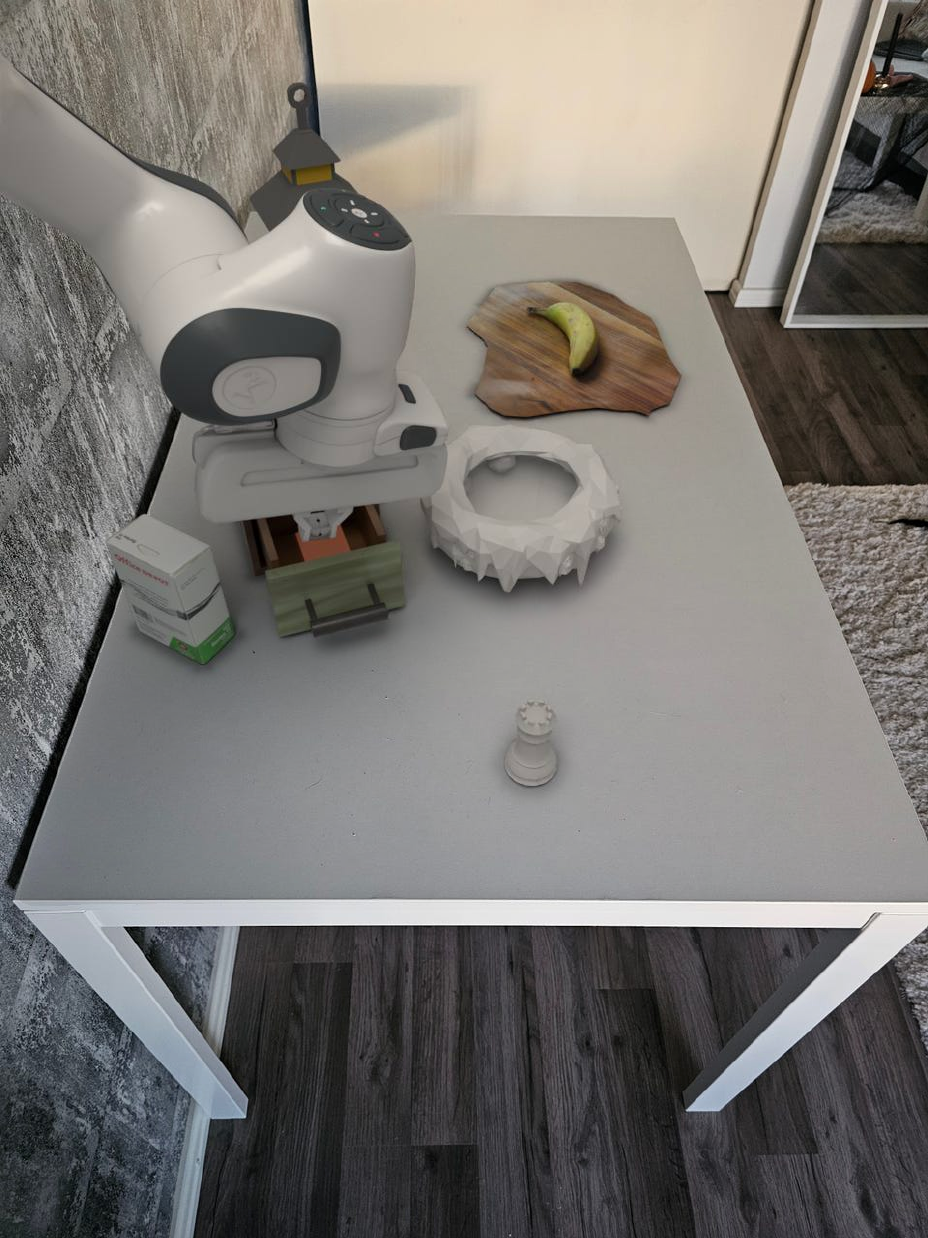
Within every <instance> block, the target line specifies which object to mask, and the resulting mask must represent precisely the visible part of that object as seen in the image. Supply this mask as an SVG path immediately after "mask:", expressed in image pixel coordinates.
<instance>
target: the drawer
mask: <svg viewBox="0 0 928 1238" xmlns="http://www.w3.org/2000/svg"><path fill="white" fill-rule="evenodd" d="M320 512H325V510H323V511H315V512H311V514H313V513H320ZM380 520H381V518H380V519H379V517H378V514H377V512H376V510H375V508H374V505H373V504H371V505H363V506H355V507H353V512H352V513H351V514H350V515H349V516H348V517H347V518H346V519H345V520H344V521H343V522H342V523H341V524H340V525H341V527H342V530H343V532H344V535H345V537H346V540H347V542H348V545H349V547H350V550H351V551H348V552H343V553H339V554H335V555H330V556H326V557H322V558H318V559H313V560H309V561H305V562H301V563H300V560H299V554H298V548H297V543H296V537H295V533H297V532H299V530H298V523H297V522H296V521H295V520H294V518H293V515H292V514H291V515H283V516H275V517H267V518H258V519H254V521H255V525H256V530H257V534H258V539H259V543H260V546H261V550H262V553H263V556H264V560H265V563H266V566H267V570H266V571H265V573H264V574H265V578H266V583H267V587H268V592H269V598H270V601H271V604H272V610H273V616H274V619H275V624H276V629H277V632H278V633H277V634H278V636H279V638H283V637H286V636H289V635H294V634H299V633H302V632H306V631H309V630H310V632H311V635H312V637H313V638H319V637H322V636H326V635H330V634H333V633H334V634H335V633H338V632H342V631H346V630H349V629H353V628H357V627H362V626H365V625H369V624H373V623H377V622H382V621H385V620H388V619H389V612H388V611H390V610H392V609H398V608H401V607H405V592H404V576H403V575H404V574H403V573H404V572H403V559H402V558H403V556H402V555H403V554H402V547H401V545H400V542H399V541H398V539H395V540H391V541H387V540H388V539H387V532H386V530H385V528H384V526H383V524H382V521H380Z"/></svg>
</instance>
